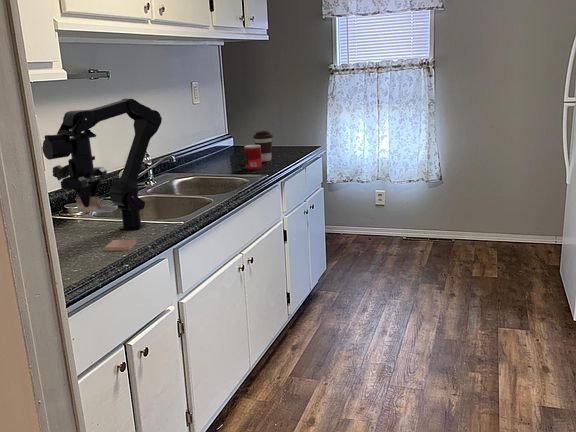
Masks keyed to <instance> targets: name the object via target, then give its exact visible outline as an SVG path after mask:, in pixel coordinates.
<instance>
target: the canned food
mask: <svg viewBox="0 0 576 432" xmlns="http://www.w3.org/2000/svg"><path fill="white" fill-rule="evenodd" d="M243 149H244V150H243V151H244V165H245V169H246V170H250V171H251V170H252V171H253V170H255V171H256V170H260V169H262V165H263V164H262V163H263V162H262V161H261V146H260V145H255V144H248V145H244V147H243Z"/></svg>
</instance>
